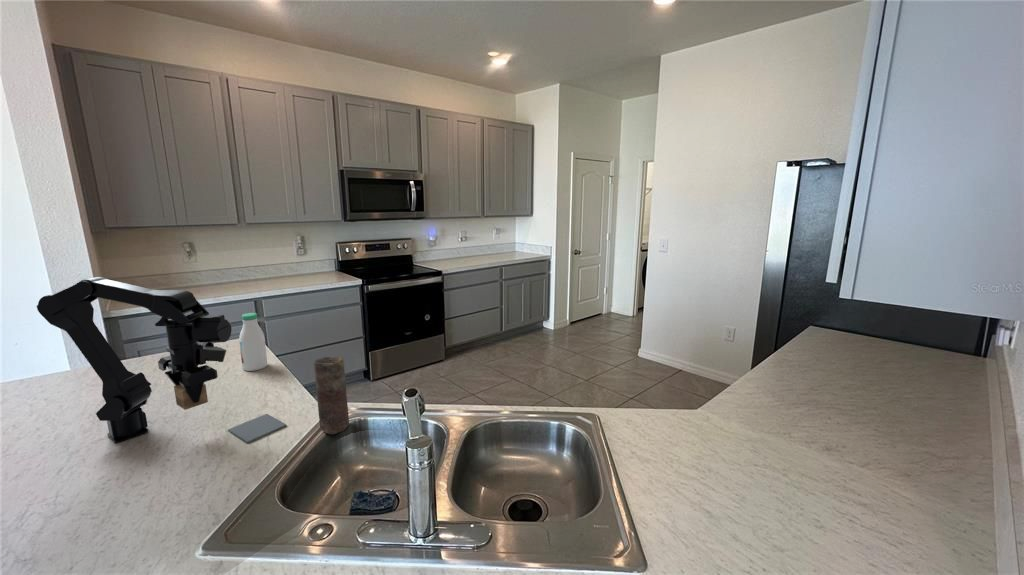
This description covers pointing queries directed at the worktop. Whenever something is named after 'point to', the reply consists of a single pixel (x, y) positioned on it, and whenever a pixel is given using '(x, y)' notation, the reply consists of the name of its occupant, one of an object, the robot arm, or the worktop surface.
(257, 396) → the worktop surface
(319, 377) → the candle
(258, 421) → the slate pad
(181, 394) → the walnut cube
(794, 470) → the worktop surface
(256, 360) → the milk bottle
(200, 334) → the robot arm
